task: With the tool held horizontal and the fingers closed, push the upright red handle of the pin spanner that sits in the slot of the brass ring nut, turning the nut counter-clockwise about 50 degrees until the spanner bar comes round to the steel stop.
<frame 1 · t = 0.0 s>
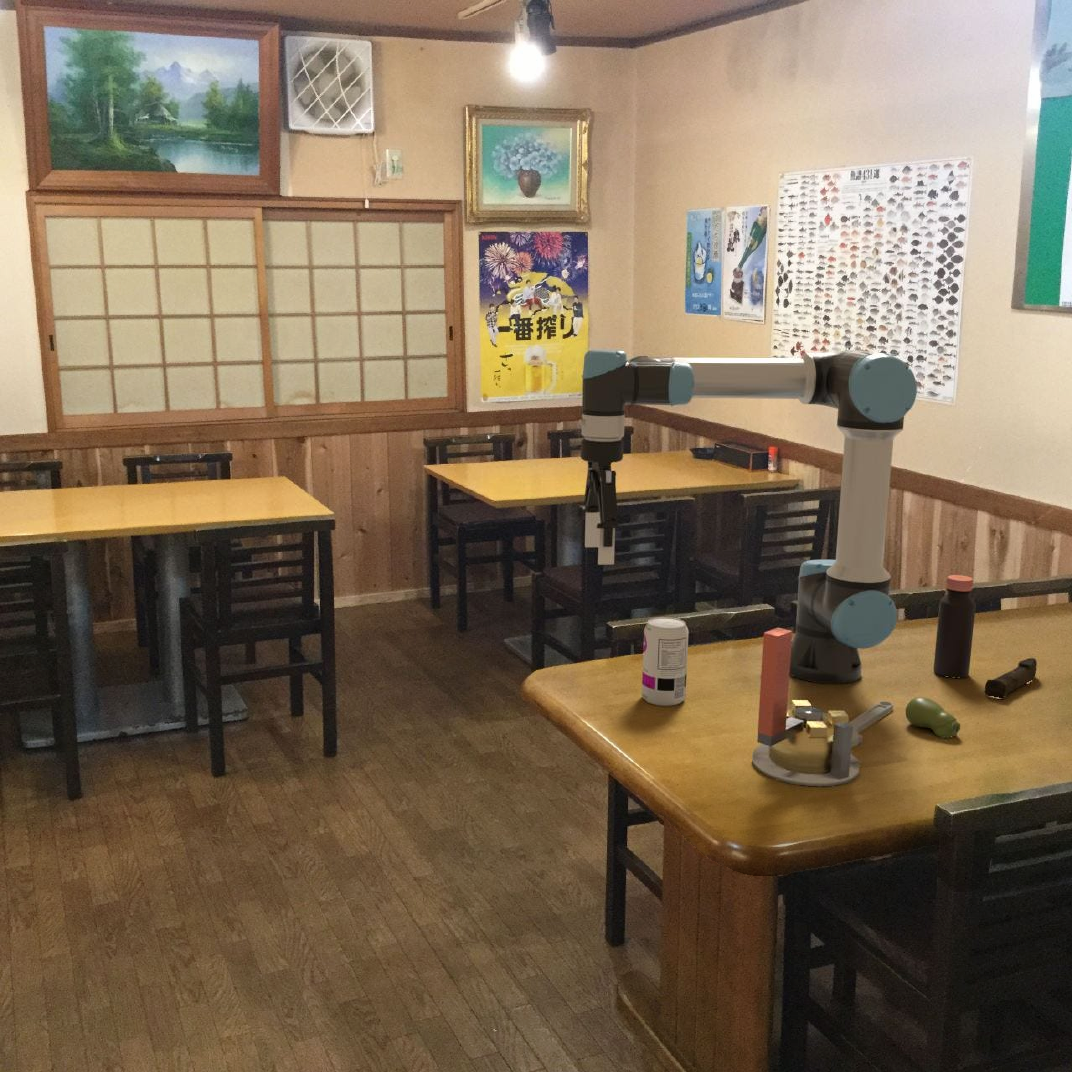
hand: (598, 555, 212), 28 cm above the table, tool pointing down, fingers open, 13 cm apart
bottle: (950, 674, 238), on the table
hand tool: (1011, 689, 231), on the table
adjustable wrench: (863, 730, 208), on the table
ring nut: (799, 693, 186), point 13 cm above the table, hinge at 0.0°
pear: (931, 731, 207), on the table
spindle base: (805, 765, 191), on the table
supplement can: (663, 700, 220), on the table
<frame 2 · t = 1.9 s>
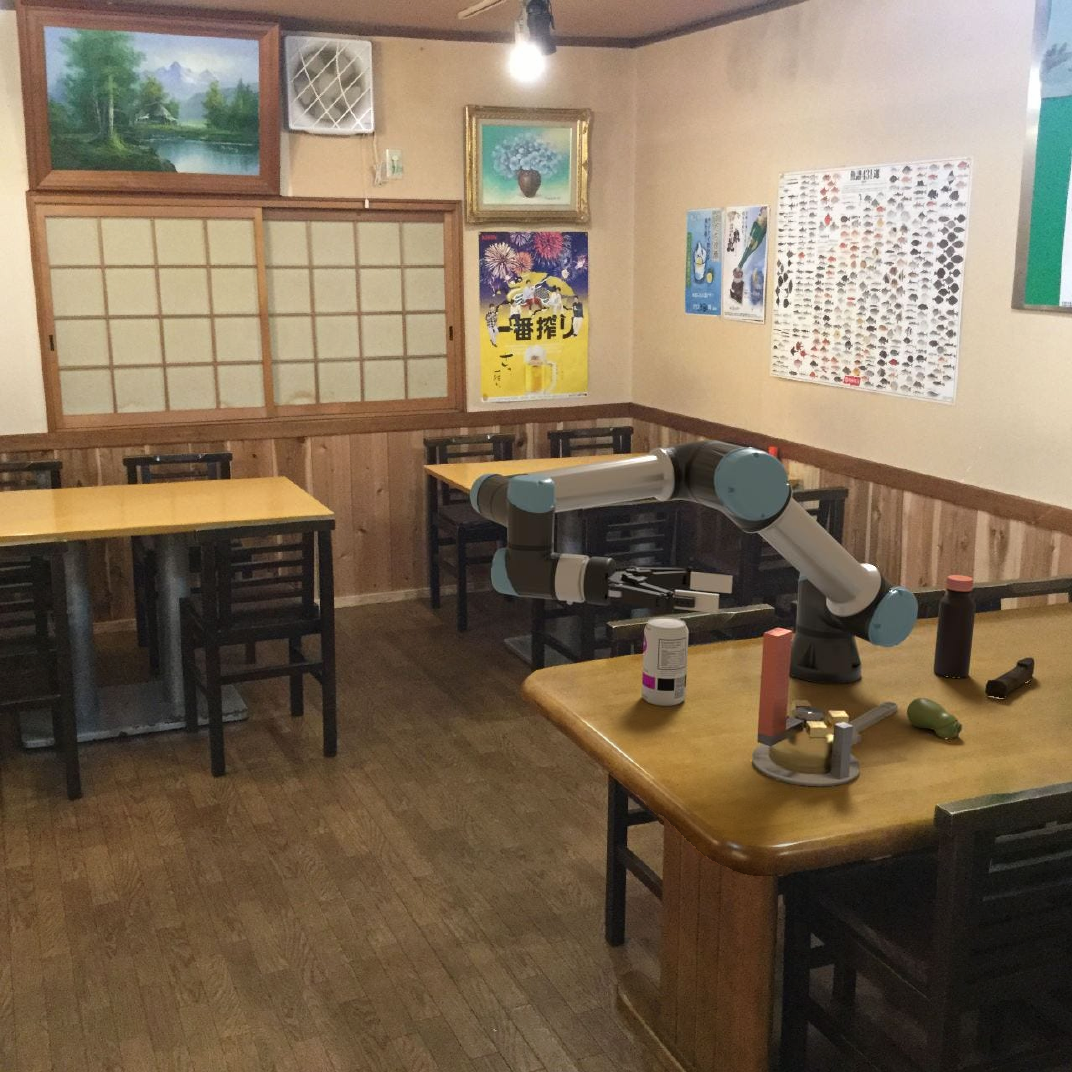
hand: (725, 593, 179), 30 cm above the table, tool horizontal, fingers open, 11 cm apart
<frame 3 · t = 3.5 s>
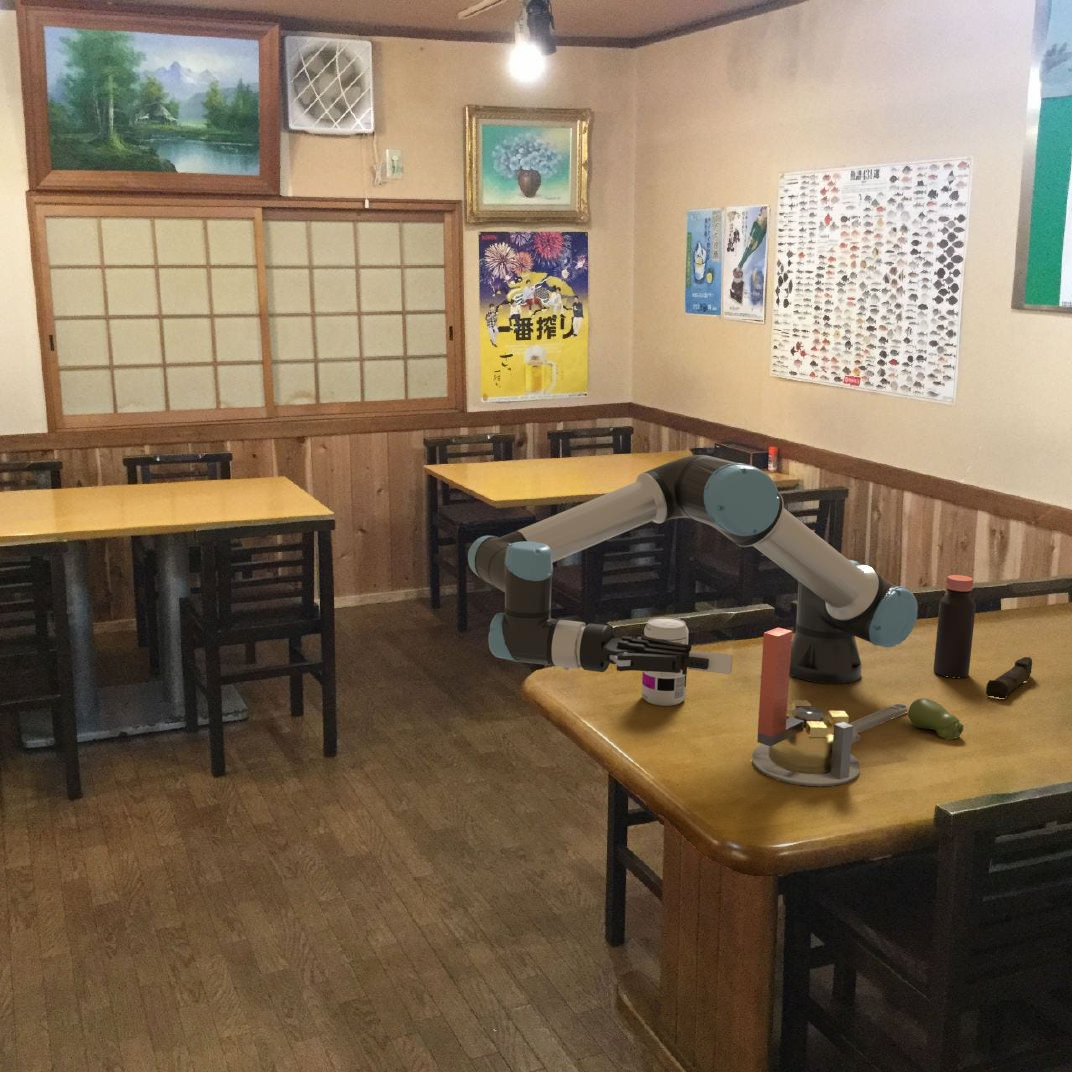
hand: (731, 664, 181), 19 cm above the table, tool horizontal, fingers closed
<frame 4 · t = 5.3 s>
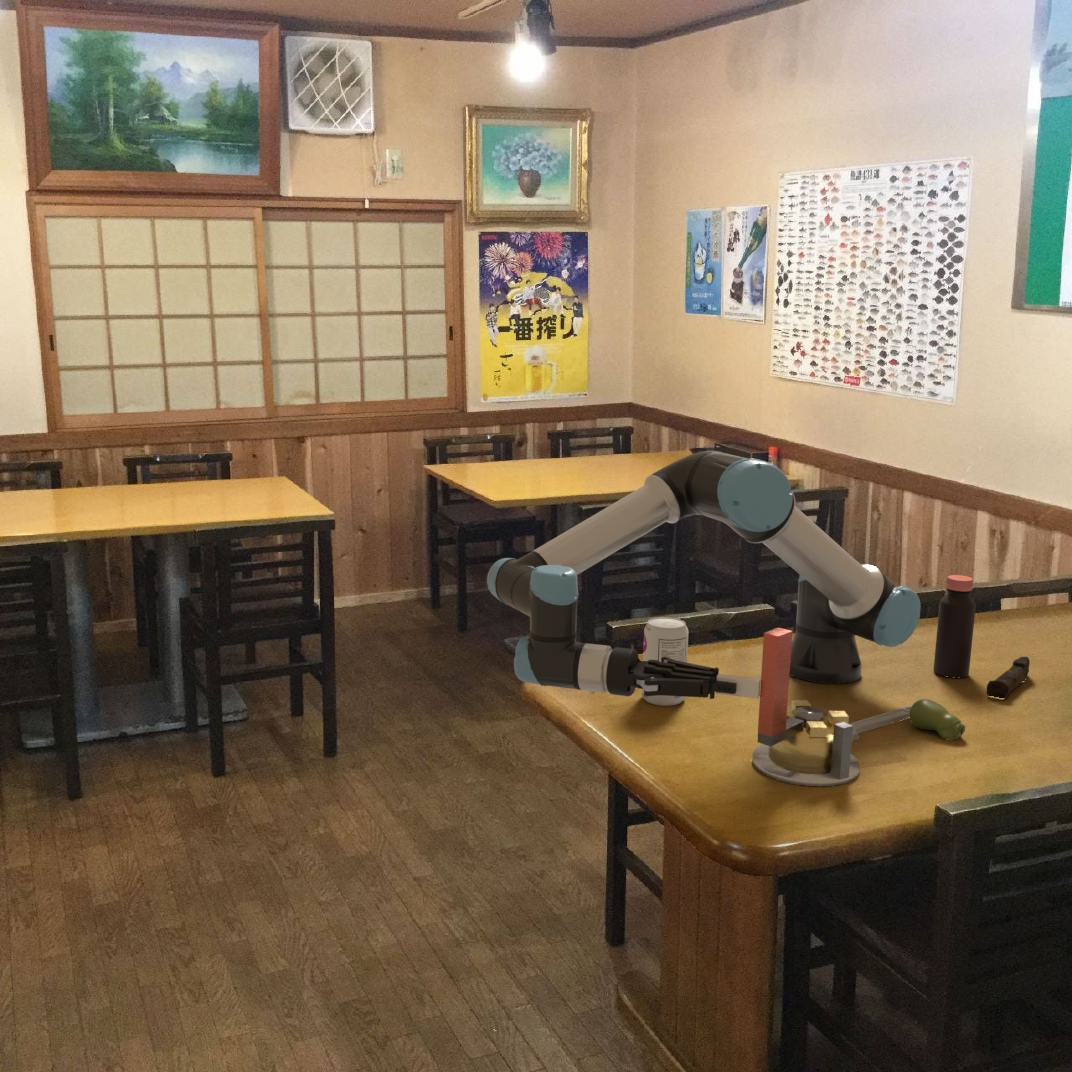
hand: (759, 688, 180), 16 cm above the table, tool horizontal, fingers closed
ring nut: (799, 693, 186), point 13 cm above the table, hinge at 0.1°, touching gripper
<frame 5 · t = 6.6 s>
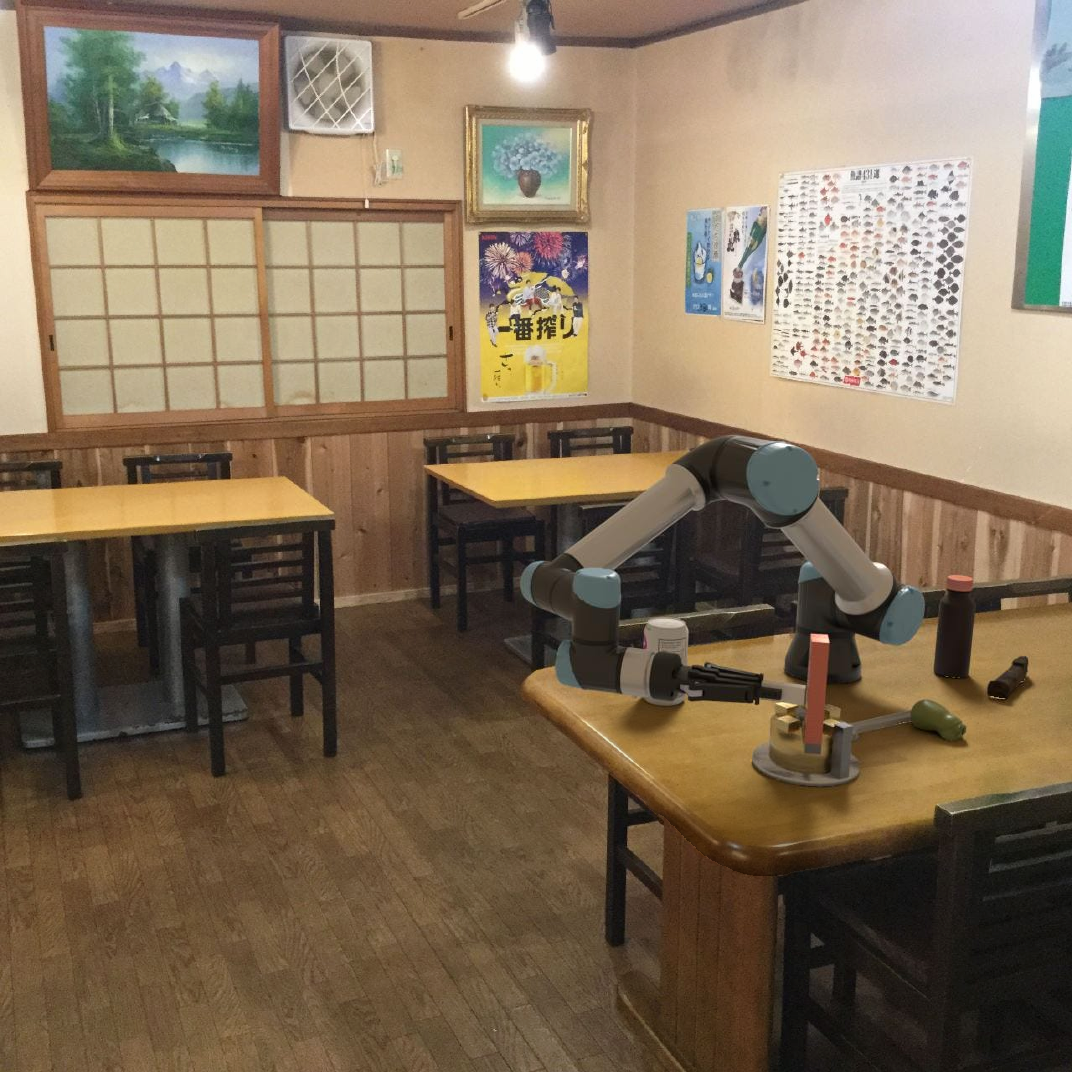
hand: (804, 695, 177), 16 cm above the table, tool horizontal, fingers closed
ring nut: (811, 696, 185), point 13 cm above the table, hinge at 33.6°, touching gripper
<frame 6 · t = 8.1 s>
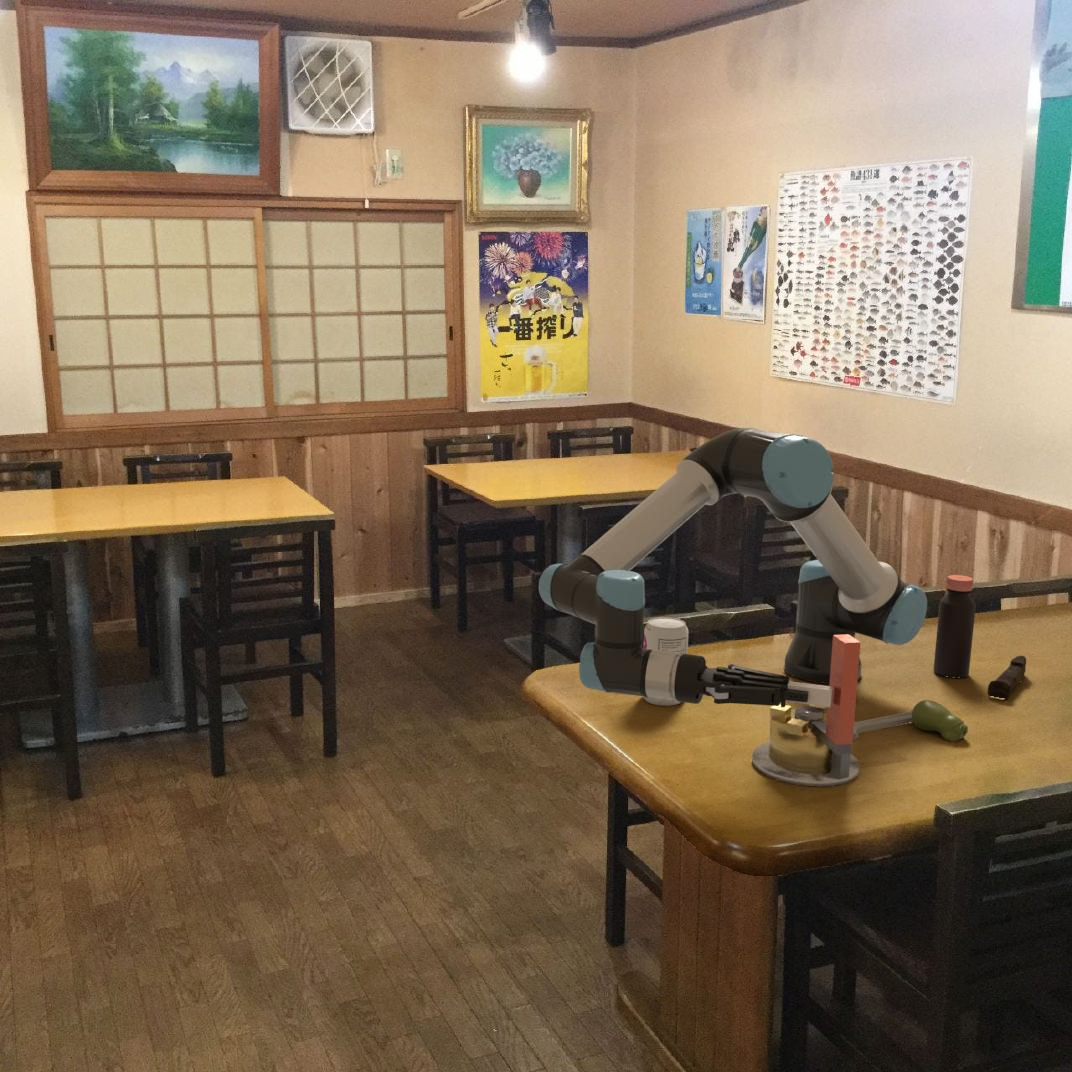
hand: (831, 697, 177), 16 cm above the table, tool horizontal, fingers closed
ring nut: (819, 696, 185), point 13 cm above the table, hinge at 54.6°, touching gripper
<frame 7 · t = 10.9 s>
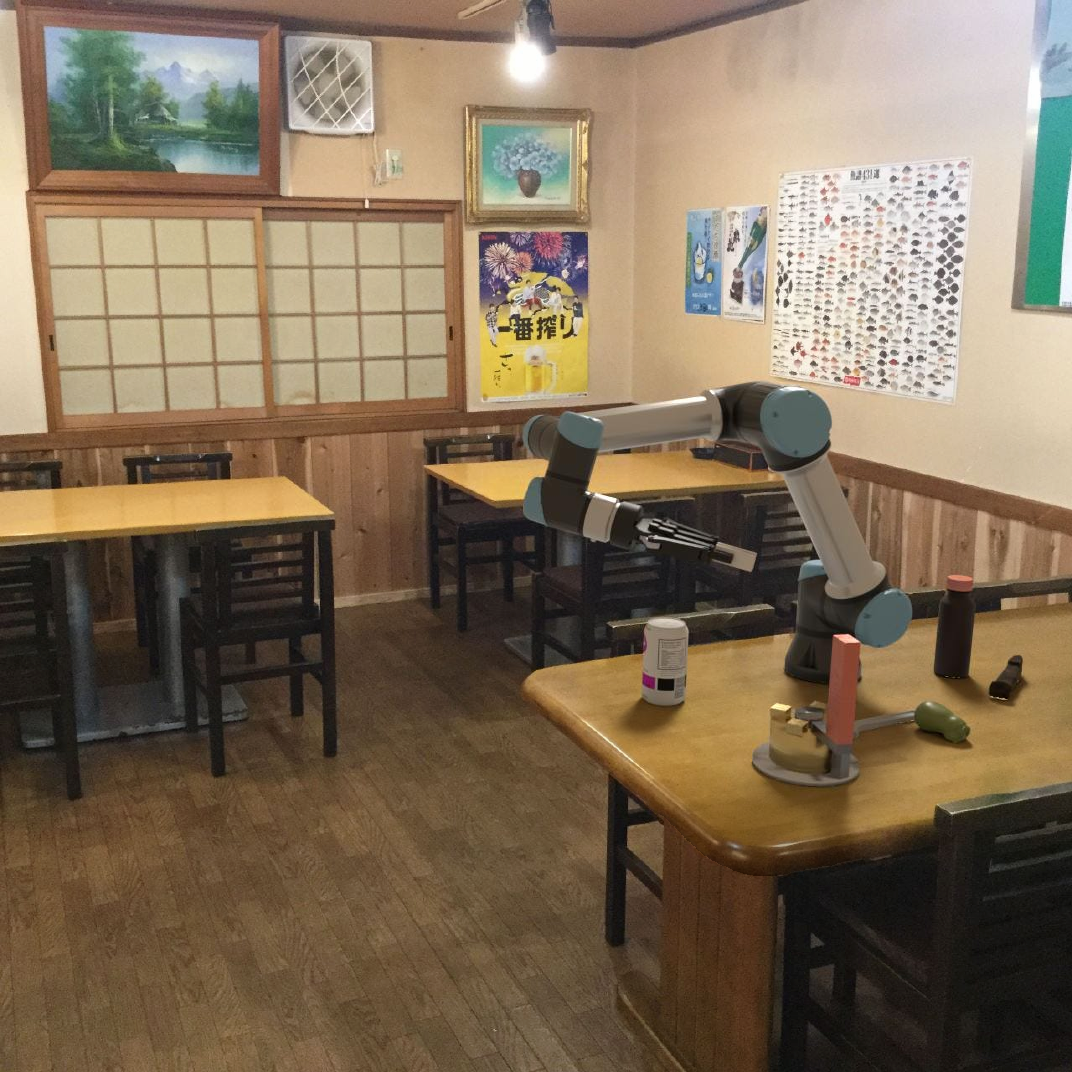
hand: (753, 562, 188), 33 cm above the table, tool horizontal, fingers closed
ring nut: (819, 696, 185), point 13 cm above the table, hinge at 54.7°
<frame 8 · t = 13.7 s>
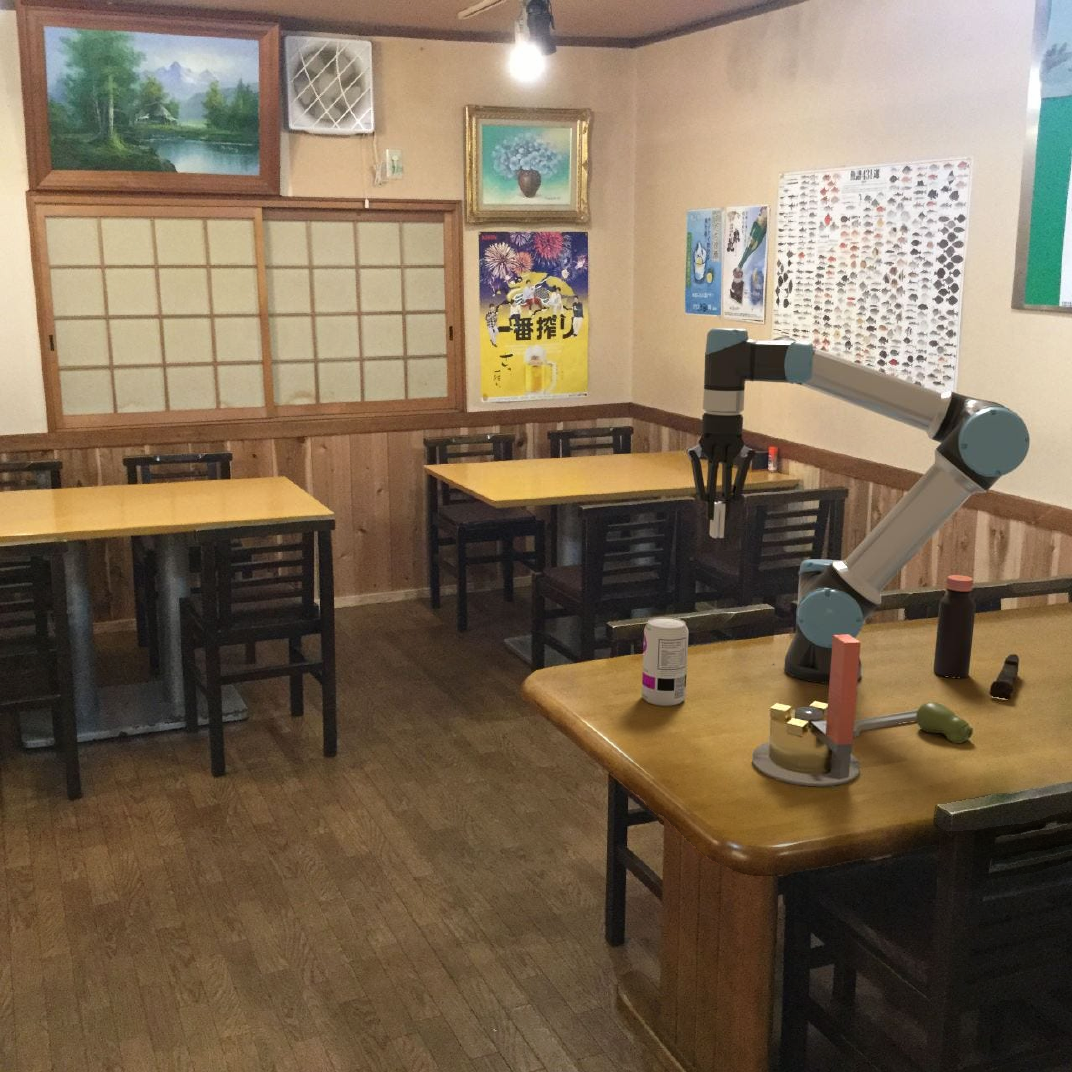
hand: (716, 536, 223), 29 cm above the table, tool pointing down, fingers closed
at the end: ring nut at +55° (first picture: +0°) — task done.
